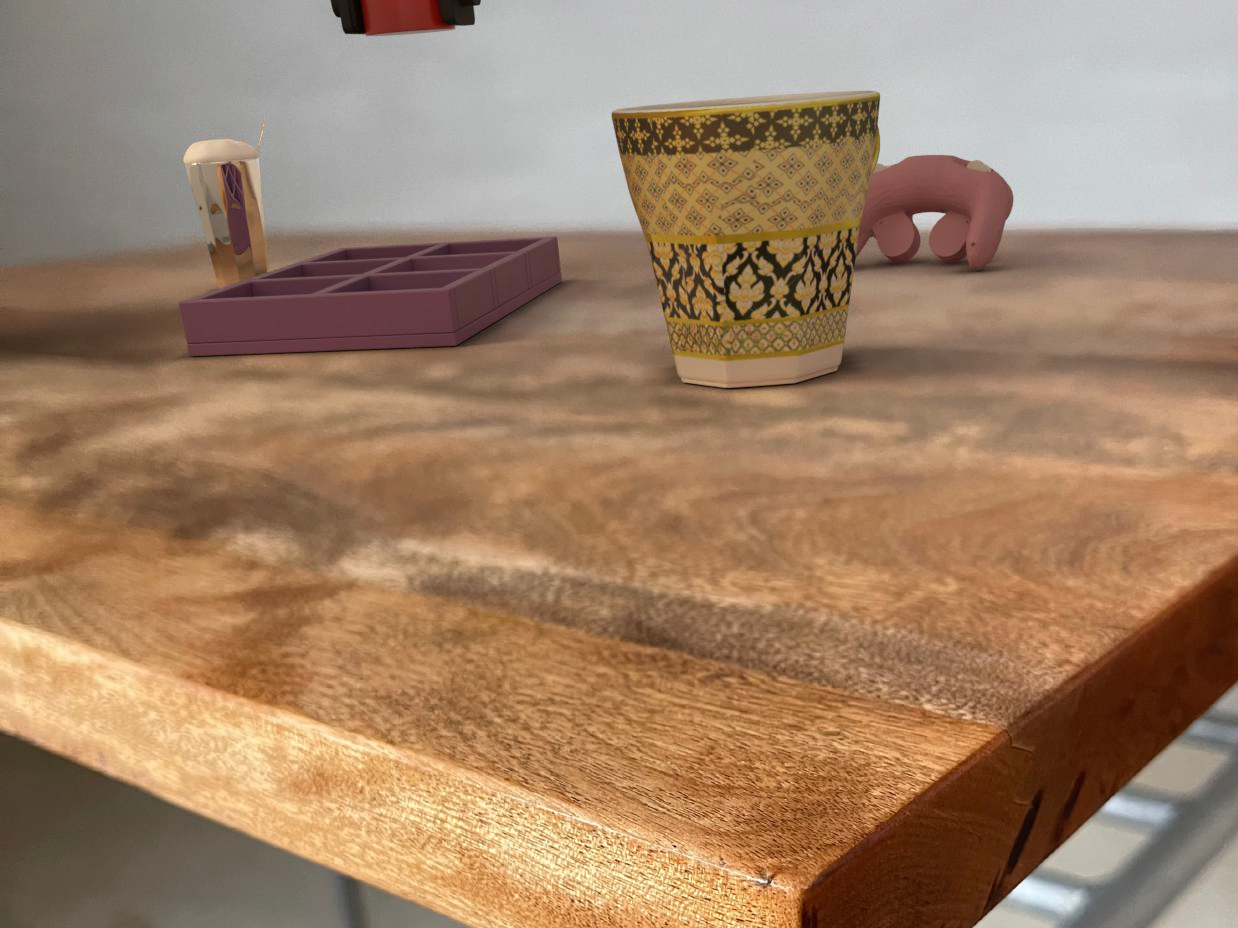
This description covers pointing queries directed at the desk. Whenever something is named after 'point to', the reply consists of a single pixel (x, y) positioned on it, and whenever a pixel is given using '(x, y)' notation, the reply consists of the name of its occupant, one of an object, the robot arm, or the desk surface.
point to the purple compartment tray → (373, 298)
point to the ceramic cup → (752, 227)
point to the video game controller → (937, 208)
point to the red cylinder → (402, 17)
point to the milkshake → (229, 206)
